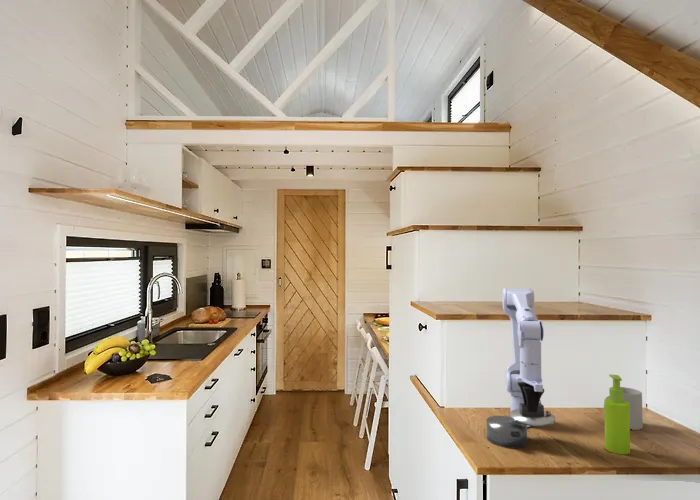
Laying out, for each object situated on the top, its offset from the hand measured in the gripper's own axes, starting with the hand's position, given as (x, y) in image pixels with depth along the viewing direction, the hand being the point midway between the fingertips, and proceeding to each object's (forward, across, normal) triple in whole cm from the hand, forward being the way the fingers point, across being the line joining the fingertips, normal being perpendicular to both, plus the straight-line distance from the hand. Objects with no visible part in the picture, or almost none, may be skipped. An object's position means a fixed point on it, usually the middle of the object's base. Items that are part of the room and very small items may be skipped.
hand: (530, 410), depth 122 cm
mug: (+9, -17, +33) cm, 38 cm away
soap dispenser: (+9, +2, +22) cm, 24 cm away
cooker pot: (+9, 0, -7) cm, 11 cm away
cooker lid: (+2, 0, 0) cm, 2 cm away
